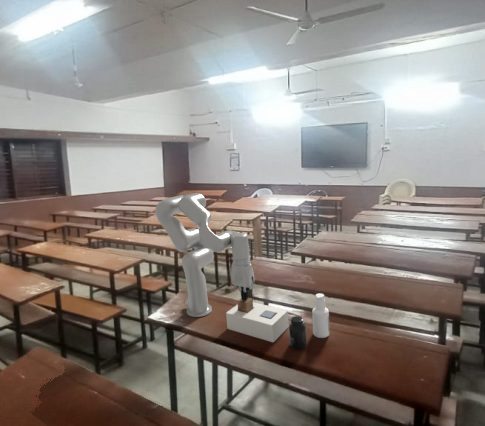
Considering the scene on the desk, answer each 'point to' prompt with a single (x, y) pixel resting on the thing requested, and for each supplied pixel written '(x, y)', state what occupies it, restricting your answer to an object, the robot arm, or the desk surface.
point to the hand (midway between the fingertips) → (244, 298)
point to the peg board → (258, 322)
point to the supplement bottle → (297, 333)
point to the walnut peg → (245, 305)
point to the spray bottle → (320, 317)
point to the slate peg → (268, 314)
